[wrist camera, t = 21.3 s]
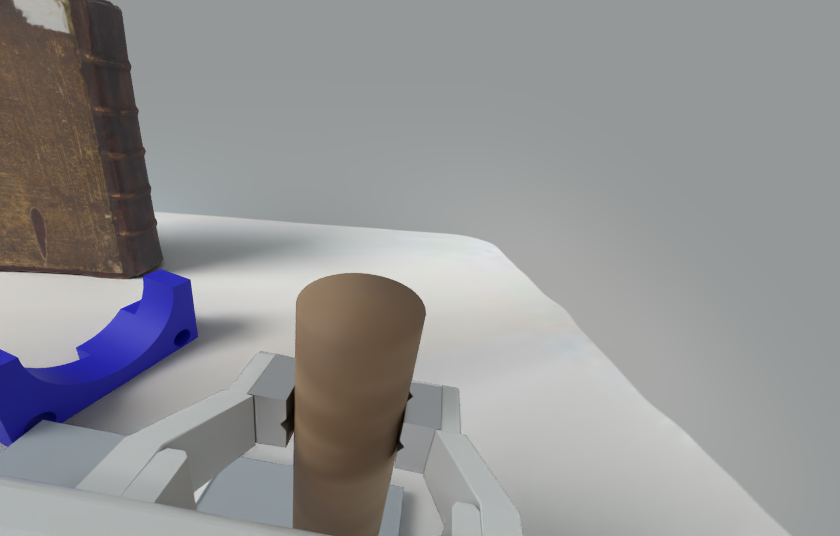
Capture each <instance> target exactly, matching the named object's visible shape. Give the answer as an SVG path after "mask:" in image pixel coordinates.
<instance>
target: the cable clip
mask: <svg viewBox="0 0 840 536" xmlns="http://www.w3.org/2000/svg"><path fill="white" fill-rule="evenodd" d="M143 281H144V288H143V295H142V299H141V300H140V301H137V302H135V303H133V304H131V305H128V306H126V307H124V308H122V309H120V311H119V312H118V313H117V315H116V316H115V318H114V319H113V320H112V321H111V322H110V323H109V324H108V325H107V326H106V327H105V328H104V329H103V330H102V331H101V332H100V333H98V334H97V335H96V336H95V337H93V338H92V339H90V340H89V341H87V342H85V343H84V344H82V345H80V346H78V347H76V349H77V352H78V355H79V358H80V360H77V361H75V362H72V363H68V364H65V365H61V366H56V367H49V368H24V367H23V366H22V364H21V363H20V361H19V359H18V358H17V357H15V356H13V355H11V354H9V353H7V352H5V351H3V350H1V349H0V443H2V444H4V445H6V446H8V447H9V446H10V445H11V444H13V443H14V442H15V441H16V440H18V439H19V438H20V437H22V436H23V435H24V434H25V433H27V432H28V431H29V430H31V429H32V428H33V427H34V426H36V425H37V424H38V423H40V422H41V421H42V420H46V421H52V422H57V423H62V422H64V421H66V420H67V419H69V418H70V417H72V416H74V415H75V414H77V413H78V412H80V411H81V410H83V409H85V408H86V407H88V406H89V405H91V404H93V403H94V402H96V401H97V400H99V399H100V398H102V397H104V396H105V395H107V394H108V393H110V392H112V391H113V390H115V389H116V388H118V387H119V386H121V385H123V384H124V383H126V382H127V381H129V380H131V379H132V378H134V377H135V376H137V375H138V374H140V373H142V372H143V371H145V370H146V369H148V368H150V367H151V366H153V365H154V364H156V363H157V362H159V361H161V360H162V359H164V358H165V357H167V356H169V355H170V354H172V353H173V352H175V351H176V350H178V349H180V348H181V347H183V346H184V345H186V344H188V343H189V342H191V341H192V340H194V339H195V338H197V337H198V334H197V327H196V319H195V311H194V304H193V296H192V288H191V281H190V279H187V278H184V277H181V276H179V275H176V274H173V273H170V272H168V271H165V270H162V269H160V270H158V271H155V272H153V273H150V274H147V275H145V276H143Z"/></svg>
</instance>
